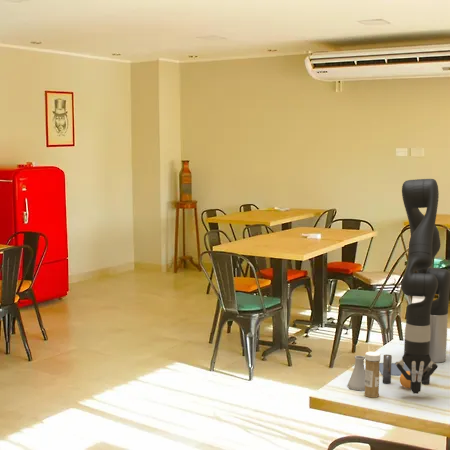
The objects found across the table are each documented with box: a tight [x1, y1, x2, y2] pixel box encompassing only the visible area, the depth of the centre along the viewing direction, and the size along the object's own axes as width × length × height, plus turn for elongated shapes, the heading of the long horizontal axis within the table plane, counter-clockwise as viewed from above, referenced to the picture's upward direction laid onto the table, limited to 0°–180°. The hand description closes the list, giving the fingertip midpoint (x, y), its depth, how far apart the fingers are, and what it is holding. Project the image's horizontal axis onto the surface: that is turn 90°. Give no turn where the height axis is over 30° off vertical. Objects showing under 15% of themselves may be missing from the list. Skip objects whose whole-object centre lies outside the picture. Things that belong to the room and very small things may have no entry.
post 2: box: [421, 357, 431, 386], centre depth 231 cm, size 3×3×9 cm
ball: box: [399, 371, 411, 389], centre depth 227 cm, size 5×5×5 cm
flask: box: [346, 355, 365, 391], centre depth 227 cm, size 7×7×10 cm
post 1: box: [382, 354, 393, 385], centre depth 232 cm, size 3×3×9 cm
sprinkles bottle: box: [364, 351, 381, 398], centre depth 219 cm, size 5×5×13 cm
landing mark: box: [379, 362, 410, 377], centre depth 246 cm, size 13×13×1 cm
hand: (415, 392), depth 219 cm, fingers closed
